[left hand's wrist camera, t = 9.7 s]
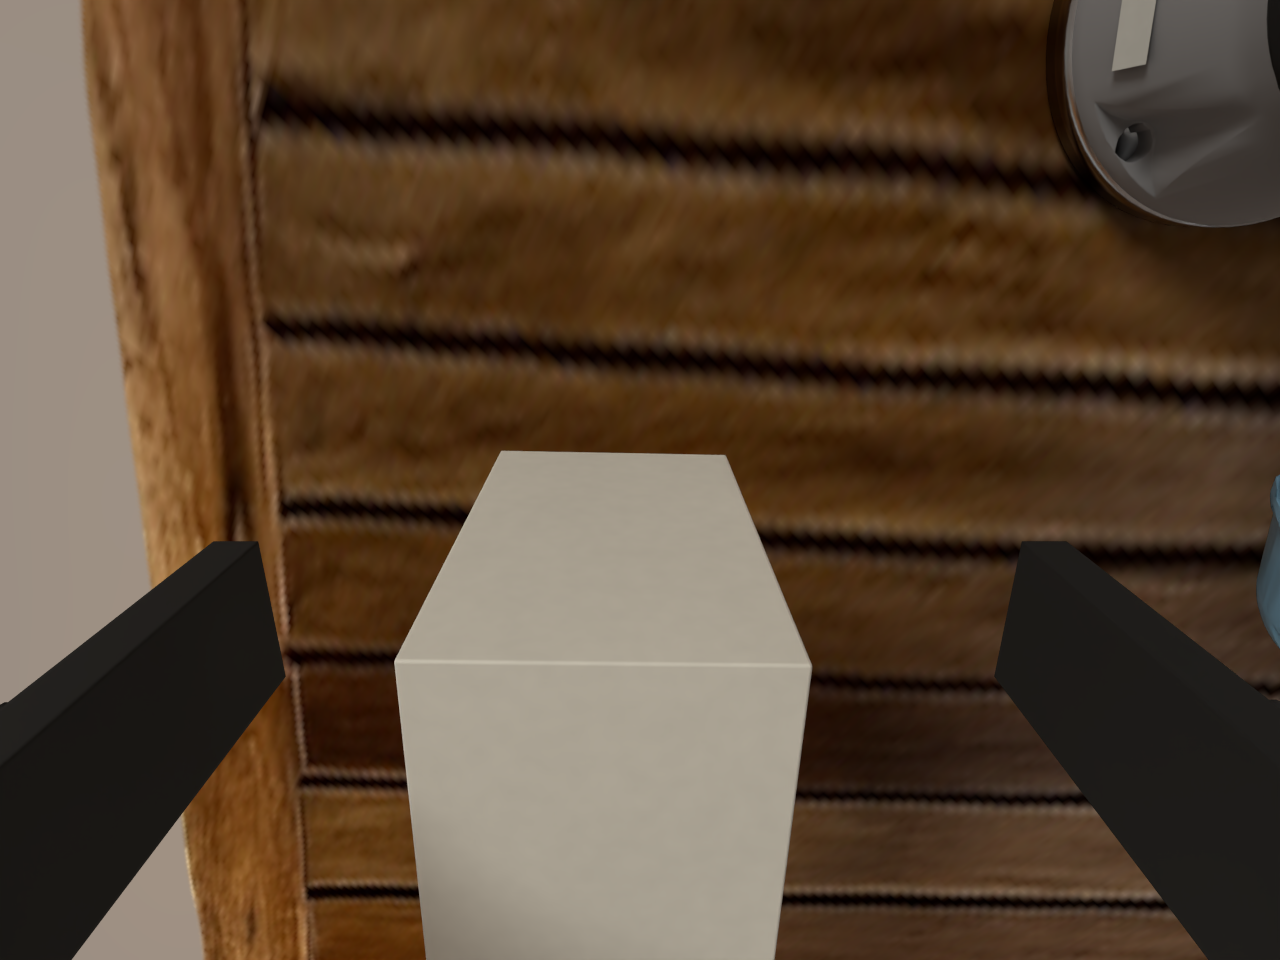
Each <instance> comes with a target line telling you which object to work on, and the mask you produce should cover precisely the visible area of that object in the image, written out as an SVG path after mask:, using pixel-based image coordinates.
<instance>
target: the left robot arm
mask: <svg viewBox="0 0 1280 960" xmlns="http://www.w3.org/2000/svg"><path fill="white" fill-rule="evenodd" d="M1046 81H1047V90H1048V99H1049V104H1050V108H1051V113H1052V118H1053V121H1054V124H1055V127H1056V130H1057V133H1058V136H1059V138H1060V141H1061V143H1062V145H1063V147H1064V150H1065V152H1066V154H1067V155H1068V157H1069V159H1070V160H1071V162H1072V164H1073V165H1074V167H1075V168H1076V170H1077V171H1078V172H1079V174H1080V175H1081V176H1082V178H1083V179H1084V180H1085V181H1086V182H1087V183H1088V184H1089V185H1090V186H1091V187H1092V188H1093V189H1094V190H1095V191H1096V192H1097V193H1098V194H1099V195H1100V196H1102V197H1103V198H1104V199H1105V200H1107V201H1108V202H1109V203H1111V204H1113V205H1114V206H1116V207H1117V208H1119V209H1121V210H1122V211H1125V212H1127V213H1129V214H1131V215H1133V216H1136V217H1138V218H1141V219H1145V220H1148V221H1151V222H1155V223H1160V224H1165V225H1174V226H1190V227H1234V226H1242V225H1250V224H1255V223H1259V222H1263V221H1268V220H1271V219H1274V218H1277V217H1280V0H1054V3H1053V7H1052V12H1051V16H1050V23H1049V29H1048V36H1047V49H1046ZM1270 503H1271V508H1272V511H1273V516H1272V520H1271V524H1270V528H1269V532H1268V536H1267V540H1266V544H1265V548H1264V552H1263V556H1262V560H1261V565H1260V569H1259V573H1258V577H1257V586H1256V596H1257V603H1258V607H1259V611H1260V614H1261V618H1262V620H1263V623H1264V625H1265V627H1266V629H1267V631H1268V633H1269V635H1270V636H1271V638H1272V640H1273V641H1274V642H1275V644H1276V645H1277V646H1278V647H1279V648H1280V475H1278V476H1276V477H1275V480H1274V483H1273V486H1272V489H1271V493H1270ZM285 677H286V676H285V671H284V666H283V661H282V656H281V651H280V646H279V642H278V637H277V632H276V627H275V622H274V617H273V612H272V607H271V602H270V597H269V592H268V588H267V583H266V578H265V573H264V568H263V563H262V558H261V553H260V548H259V543H258V541H213V542H212V543H211V544H210V545H208V546H207V547H206V548H205V549H203V550H202V551H201V552H199V553H198V554H197V555H196V556H194V557H193V558H192V559H191V560H189V561H188V562H187V563H185V564H184V565H183V566H182V567H180V568H179V569H178V570H176V571H175V572H174V573H173V574H171V575H170V576H169V577H168V578H166V579H165V580H164V581H162V582H161V583H160V584H159V585H157V586H156V587H155V588H153V589H152V590H151V591H150V592H148V593H147V594H146V595H145V596H143V597H142V598H141V599H139V600H138V601H137V602H136V603H134V604H133V605H132V606H131V607H129V608H128V609H127V610H125V611H124V612H123V613H122V614H120V615H119V616H118V617H116V618H115V619H114V620H113V621H111V622H110V623H109V624H107V625H106V626H105V627H104V628H102V629H101V630H100V631H99V632H97V633H96V634H95V635H93V636H92V637H91V638H90V639H88V640H87V641H86V642H84V643H83V644H82V645H81V646H79V647H78V648H77V649H76V650H74V651H73V652H72V653H70V654H69V655H68V656H67V657H65V658H64V659H63V660H62V661H60V662H59V663H58V664H56V665H55V666H54V667H53V668H51V669H50V670H49V671H47V672H46V673H45V674H44V675H42V676H41V677H40V678H38V679H37V680H36V681H35V682H33V683H32V684H31V685H30V686H28V687H27V688H26V689H24V690H23V691H22V692H21V693H19V694H18V695H17V696H16V697H14V698H13V699H12V700H10V701H9V702H4V703H2V704H1V705H0V960H72V958H73V957H74V956H75V954H76V953H77V952H78V950H79V949H80V948H81V946H82V945H83V944H84V942H85V941H86V940H87V939H88V937H89V936H90V935H91V933H92V932H93V931H94V929H95V928H96V927H97V925H98V924H99V923H100V921H101V920H102V919H103V917H104V916H105V915H106V913H107V912H108V911H109V909H110V908H111V907H112V905H113V904H114V903H115V901H116V900H117V899H118V898H119V896H120V895H121V894H122V892H123V891H124V890H125V888H126V887H127V886H128V884H129V883H130V882H131V880H132V879H133V878H134V876H135V875H136V874H137V872H138V871H139V870H140V868H141V867H142V866H143V864H144V863H145V862H146V860H147V859H148V858H149V857H150V855H151V854H152V852H153V851H154V850H155V849H156V847H157V846H158V845H159V843H160V842H161V841H162V839H163V838H164V837H165V835H166V834H167V833H168V831H169V830H170V829H171V827H172V826H173V825H174V823H175V822H176V821H177V819H178V818H179V817H180V815H181V814H182V813H183V812H184V810H185V809H186V808H187V806H188V805H189V804H190V802H191V801H192V800H193V798H194V797H195V796H196V794H197V793H198V792H199V790H200V789H201V788H202V786H203V785H204V784H205V782H206V781H207V780H208V778H209V777H210V776H211V774H212V773H213V772H214V771H215V769H216V768H217V767H218V765H219V764H220V763H221V761H222V760H223V759H224V757H225V756H226V755H227V753H228V752H229V751H230V749H231V748H232V747H233V745H234V744H235V743H236V741H237V740H238V739H239V737H240V736H241V735H242V733H243V732H244V731H245V730H246V728H247V727H248V726H249V724H250V723H251V722H252V720H253V719H254V718H255V716H256V715H257V714H258V712H259V711H260V710H261V708H262V707H263V706H264V704H265V703H266V702H267V700H268V699H269V698H270V696H271V695H272V694H273V692H274V691H275V690H276V688H277V687H278V686H279V685H280V683H281V682H282V681H283V679H284V678H285ZM994 677H995V678H996V679H997V681H998V682H999V683H1000V685H1001V686H1002V687H1003V688H1004V690H1005V691H1006V692H1007V694H1008V695H1009V696H1010V698H1011V699H1012V700H1013V702H1014V703H1015V704H1016V706H1017V707H1018V708H1019V710H1020V711H1021V712H1022V714H1023V715H1024V716H1025V718H1026V719H1027V720H1028V722H1029V723H1030V724H1031V726H1032V727H1033V728H1034V730H1035V731H1036V732H1037V733H1038V735H1039V736H1040V737H1041V739H1042V740H1043V741H1044V743H1045V744H1046V745H1047V747H1048V748H1049V749H1050V751H1051V752H1052V753H1053V755H1054V756H1055V757H1056V759H1057V760H1058V761H1059V763H1060V764H1061V765H1062V767H1063V768H1064V769H1065V771H1066V772H1067V773H1068V774H1069V776H1070V777H1071V778H1072V780H1073V781H1074V782H1075V784H1076V785H1077V786H1078V788H1079V789H1080V790H1081V792H1082V793H1083V794H1084V796H1085V797H1086V798H1087V800H1088V801H1089V802H1090V804H1091V805H1092V806H1093V808H1094V809H1095V810H1096V812H1097V813H1098V814H1099V815H1100V817H1101V818H1102V819H1103V821H1104V822H1105V823H1106V825H1107V826H1108V827H1109V829H1110V830H1111V831H1112V833H1113V834H1114V835H1115V837H1116V838H1117V839H1118V841H1119V842H1120V843H1121V845H1122V846H1123V847H1124V849H1125V850H1126V851H1127V853H1128V854H1129V855H1130V857H1131V858H1132V859H1133V860H1134V862H1135V863H1136V864H1137V866H1138V867H1139V868H1140V870H1141V871H1142V872H1143V874H1144V875H1145V876H1146V878H1147V879H1148V880H1149V882H1150V883H1151V884H1152V886H1153V887H1154V888H1155V890H1156V891H1157V892H1158V894H1159V895H1160V896H1161V898H1162V899H1163V900H1164V901H1165V903H1166V904H1167V905H1168V907H1169V908H1170V909H1171V911H1172V912H1173V913H1174V915H1175V916H1176V917H1177V919H1178V920H1179V921H1180V923H1181V924H1182V925H1183V927H1184V928H1185V929H1186V931H1187V932H1188V933H1189V935H1190V936H1191V937H1192V939H1193V940H1194V941H1195V942H1196V944H1197V945H1198V946H1199V948H1200V949H1201V950H1202V952H1203V953H1204V954H1205V956H1206V957H1207V958H1208V960H1280V701H1278V700H1268V699H1267V698H1266V697H1265V696H1263V695H1262V694H1261V693H1259V692H1258V691H1257V690H1256V689H1254V688H1253V687H1252V686H1250V685H1249V684H1248V683H1247V682H1245V681H1244V680H1243V679H1242V678H1240V677H1239V676H1238V675H1236V674H1235V673H1234V672H1233V671H1231V670H1230V669H1229V668H1227V667H1226V666H1225V665H1224V664H1222V663H1221V662H1220V661H1219V660H1217V659H1216V658H1215V657H1213V656H1212V655H1211V654H1210V653H1208V652H1207V651H1206V650H1204V649H1203V648H1202V647H1201V646H1199V645H1198V644H1197V643H1196V642H1194V641H1193V640H1192V639H1190V638H1189V637H1188V636H1187V635H1185V634H1184V633H1183V632H1181V631H1180V630H1179V629H1178V628H1176V627H1175V626H1174V625H1173V624H1171V623H1170V622H1169V621H1167V620H1166V619H1165V618H1164V617H1162V616H1161V615H1160V614H1158V613H1157V612H1156V611H1155V610H1153V609H1152V608H1151V607H1150V606H1148V605H1147V604H1146V603H1144V602H1143V601H1142V600H1141V599H1139V598H1138V597H1137V596H1135V595H1134V594H1133V593H1132V592H1130V591H1129V590H1128V589H1127V588H1125V587H1124V586H1123V585H1121V584H1120V583H1119V582H1118V581H1116V580H1115V579H1114V578H1112V577H1111V576H1110V575H1109V574H1107V573H1106V572H1105V571H1104V570H1102V569H1101V568H1100V567H1098V566H1097V565H1096V564H1095V563H1093V562H1092V561H1091V560H1090V559H1088V558H1087V557H1086V556H1084V555H1083V554H1082V553H1081V552H1079V551H1078V550H1077V549H1075V548H1074V547H1073V546H1072V545H1070V544H1069V543H1068V542H1067V541H1022V543H1021V548H1020V553H1019V558H1018V563H1017V568H1016V573H1015V578H1014V583H1013V588H1012V592H1011V597H1010V602H1009V607H1008V612H1007V617H1006V622H1005V627H1004V632H1003V637H1002V642H1001V646H1000V651H999V656H998V661H997V666H996V671H995V676H994Z"/></svg>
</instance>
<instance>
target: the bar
mask: <svg viewBox="0 0 1280 960" xmlns="http://www.w3.org/2000/svg"><path fill="white" fill-rule="evenodd" d="M394 663H395V672H396V682H397V691H398V700H399V709H400V719H401V728H402V737H403V747H404V756H405V765H406V774H407V784H408V793H409V802H410V812H411V821H412V830H413V839H414V849H415V858H416V867H417V877H418V886H419V895H420V904H421V914H422V923H423V932H424V942H425V951H426V960H774V959H775V951H776V943H777V935H778V928H779V920H780V912H781V904H782V897H783V889H784V881H785V874H786V866H787V858H788V850H789V843H790V835H791V827H792V819H793V812H794V804H795V796H796V789H797V781H798V773H799V765H800V758H801V750H802V742H803V734H804V727H805V719H806V711H807V704H808V696H809V688H810V680H811V673H812V664H811V662H810V659H809V657H808V654H807V652H806V649H805V647H804V645H803V642H802V640H801V637H800V635H799V632H798V630H797V628H796V625H795V623H794V620H793V618H792V615H791V613H790V611H789V608H788V606H787V603H786V601H785V598H784V596H783V594H782V591H781V589H780V586H779V584H778V581H777V579H776V576H775V574H774V572H773V569H772V567H771V564H770V562H769V559H768V557H767V555H766V552H765V550H764V547H763V545H762V542H761V540H760V538H759V535H758V533H757V530H756V528H755V525H754V523H753V521H752V518H751V516H750V513H749V511H748V508H747V506H746V504H745V501H744V499H743V496H742V494H741V491H740V489H739V486H738V484H737V482H736V479H735V477H734V474H733V472H732V469H731V467H730V465H729V462H728V460H727V457H726V456H725V455H690V454H637V453H585V452H532V451H501V452H500V454H499V456H498V458H497V460H496V462H495V464H494V466H493V468H492V470H491V472H490V474H489V476H488V478H487V480H486V482H485V484H484V486H483V488H482V490H481V492H480V494H479V496H478V498H477V500H476V502H475V504H474V506H473V508H472V510H471V512H470V513H469V515H468V517H467V519H466V521H465V523H464V525H463V527H462V529H461V531H460V533H459V535H458V537H457V539H456V541H455V543H454V545H453V547H452V549H451V551H450V553H449V555H448V557H447V559H446V561H445V563H444V565H443V567H442V569H441V571H440V573H439V574H438V576H437V578H436V580H435V582H434V584H433V586H432V588H431V590H430V592H429V594H428V596H427V598H426V600H425V602H424V604H423V606H422V608H421V610H420V612H419V614H418V616H417V618H416V620H415V622H414V624H413V626H412V628H411V630H410V632H409V633H408V635H407V637H406V639H405V641H404V643H403V645H402V647H401V649H400V651H399V653H398V655H397V657H396V659H395V662H394Z"/></svg>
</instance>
